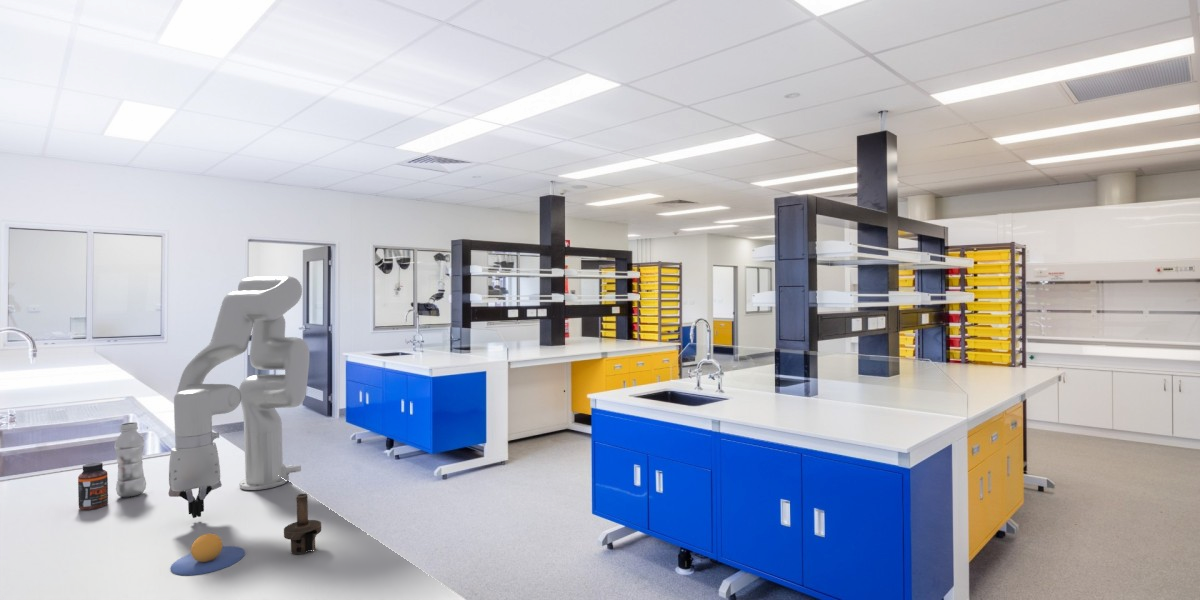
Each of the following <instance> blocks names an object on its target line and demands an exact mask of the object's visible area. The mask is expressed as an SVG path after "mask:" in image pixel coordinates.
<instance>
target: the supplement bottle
mask: <svg viewBox="0 0 1200 600" xmlns="http://www.w3.org/2000/svg"><path fill="white" fill-rule="evenodd" d="M103 467H104V465H103V462H102V461H99V462H98V461H97V462H88V463H86V464H83V465H82V472H81V473H80V474H79V475H78V477H77V486H78V489H77V490H78V494H77V495H78V496H77V497H78V509H79V510H80V511H81V510H82V511H91V510H96V509H102V508H103V507H105V506H107V505H108V503H109V479H108V471H107V470H105V469H103Z"/></svg>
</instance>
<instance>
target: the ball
mask: <svg viewBox="0 0 1200 600" xmlns="http://www.w3.org/2000/svg"><path fill="white" fill-rule="evenodd" d="M222 546H223V540H222V539H221V537H220V536H219V535H217V534H215V533H204V534H202V535H200V536H198V537H196V539H195V540H194V542H193V543H192V544H191V547H190V554H192V557H193V558H194V559H195V560H197V561H199V562H208V561H211V560H213V559H215V558H216V557H217V556H218V555H219V554H220V552H221V550H222Z"/></svg>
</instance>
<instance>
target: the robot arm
mask: <svg viewBox="0 0 1200 600" xmlns="http://www.w3.org/2000/svg"><path fill="white" fill-rule="evenodd" d="M302 292H303V288H302V284H301V281H299V280H298V279H297V278H296V277H293V276H289V275H288V276H282V275H281V276H279V275H278V276H277V275H275V276H267V275H266V276H251V277H250V276H249V277H246V278H243V279H241V280H240V282H239V283H238V286H237V290H236V291H232V292H228V294H226V295H225V296H224V298H223V300H222V302H221V304H220V305H221V306H220V308H219V312H218V316H217V319H216V322H215V326H214V330H213V333H212V336H211V339H210V342H209V344H208V345H206V346H204V348H203V349H202V350H200V351H199V352H198V353H197V354H196V355H195V356H194V357H193V358H192V359H191V361H189V363H188V364H187V365H186V366H185V368H184V369H183V371H182V374H181V376H180V379H179V382H178V387H177V390H176V393H175V395H174V397H173V413H174V415H173V419H174V420H173V421H174V445H175V446H174V447H173V448H171V450H170V455H169V464H168V484H169V490H168V494H167V495H168V496H169V497H171V498H173V497H174V498H175V497H176V498H178V497H180V498H182V499H184V500H186V501H187V503H188V504H187V505H188V515H191V516H192V518H193V519H195V518H197V517H198V518H201V517H202V513H203V512H204V511H205V503H204V502H205V501H204V500H205V498H206V497H207V496H208V495H209V494H210V493H211V492H212V491H213V490H216V489H218V488H219V489H220V488H221V487H222V486H223V485H222V481H221V466H220V465H221V464H220V458H219V453H218V452H219V451H218V448H217V447H218V446H217V444H216V442H214V441H215V440H216V439H219V438H220V433H219V432H214V431H213V416H215V415H225V414H229V413H231V412H233V411H234V410H237V408H238V407H239V406H240V405H241V409H242V415H243V416H242V417H243V427H244V428H243V429H244V430H243V432H244V435H243V436H244V464H245V465H244V470H245V478H243V480H241V481H240V482H239V489H241V490H245V491H260V490H261V491H262V490H268V489H271V488H272V489H273V488H275V487H276V488H277V487H279V486H282V485H285V484H286V483H287V481H288V482H289V480H290V474H292V473H298V472H301V471H302V466H301V464H298V465H294V464H292V465H290V464H289V465H287V466H286V464H284V462H283V461H284V460H283V459H284V458H283V456H284V455H283V454H284V453H283V452H284V451H283V427H282V426H283V423H282V419H281V416H280V413H279V412H278V411H277V409H279V408H280V409H281V408H282V409H288V408H289V409H290V408H297V407H299V406H300V405H302V403H303V402H304V400H305V398H306V395H307V389H308V388H307V387H308V380H309V379H308V377H309V370H310V368H309V367H310V349H309V345H308V343H307V341H306V340H304V339H303V338H302V337H297V336H295V337H293V336H290V337H289V336H287V337H286V319H285V317H284V315H285V314H286V313H287V312H288V311H289V310H291V309H292V308H294V307H295V306H296V305H297V304H298V303H299V302H300V299H302V298H301V297H302V294H303V293H302ZM250 338H251V341H250ZM249 343H250V349H249V364H250V366H251V367H252V368H254V369H256V370H260V371H261V370H263V371H284V372H285V373H284V374H275V373H274V374H273V373H272V374H269V373H268V374H253V375H250V376H248V377H246V378H245V379H243V381H241V383H240V385H239V388H238V387H237V386H235V385H232V384H228V383H204V381H205V380H206V377H207V376H208V374H209V373H211V371H212V370H213V369H215V368H216V367H217V366H218V365H220V364H222V363H224V362H226V361H228V360H230V359H233V358H235V357H238V356H240V355H242V354H244V353H245V352H246V351H247V349H248V346H249ZM278 475H279V476H278ZM281 477H282V478H284V479H285V480H287V481H285V480H284V479H282V478H281ZM285 482H286V483H285ZM194 489H198V492H197V495H196V497H195V496H194V493H193V490H194Z"/></svg>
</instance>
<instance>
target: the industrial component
mask: <svg viewBox="0 0 1200 600" xmlns="http://www.w3.org/2000/svg"><path fill="white" fill-rule="evenodd" d="M295 498H296V499H295V500H296V521H295V522H292V523H290V524H287V525H286V526H284V528H283V537H284V539H285V540H290V553H291V552H292V553H294V554H293V555H303V554H302V553H305V552H306V551H308V550H312V551H313V550H314V549H315V550H316V537H317V536H318V534H319V533H321V531H322V522H321V521H320V520H317V519H309V511H308V510H309V502H308V494H307V493H299V494H297V495H296V497H295ZM308 552H309V551H308ZM313 552H314V551H313ZM292 553H291V554H292ZM306 553H307V552H306ZM306 553H305V554H306Z"/></svg>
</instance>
